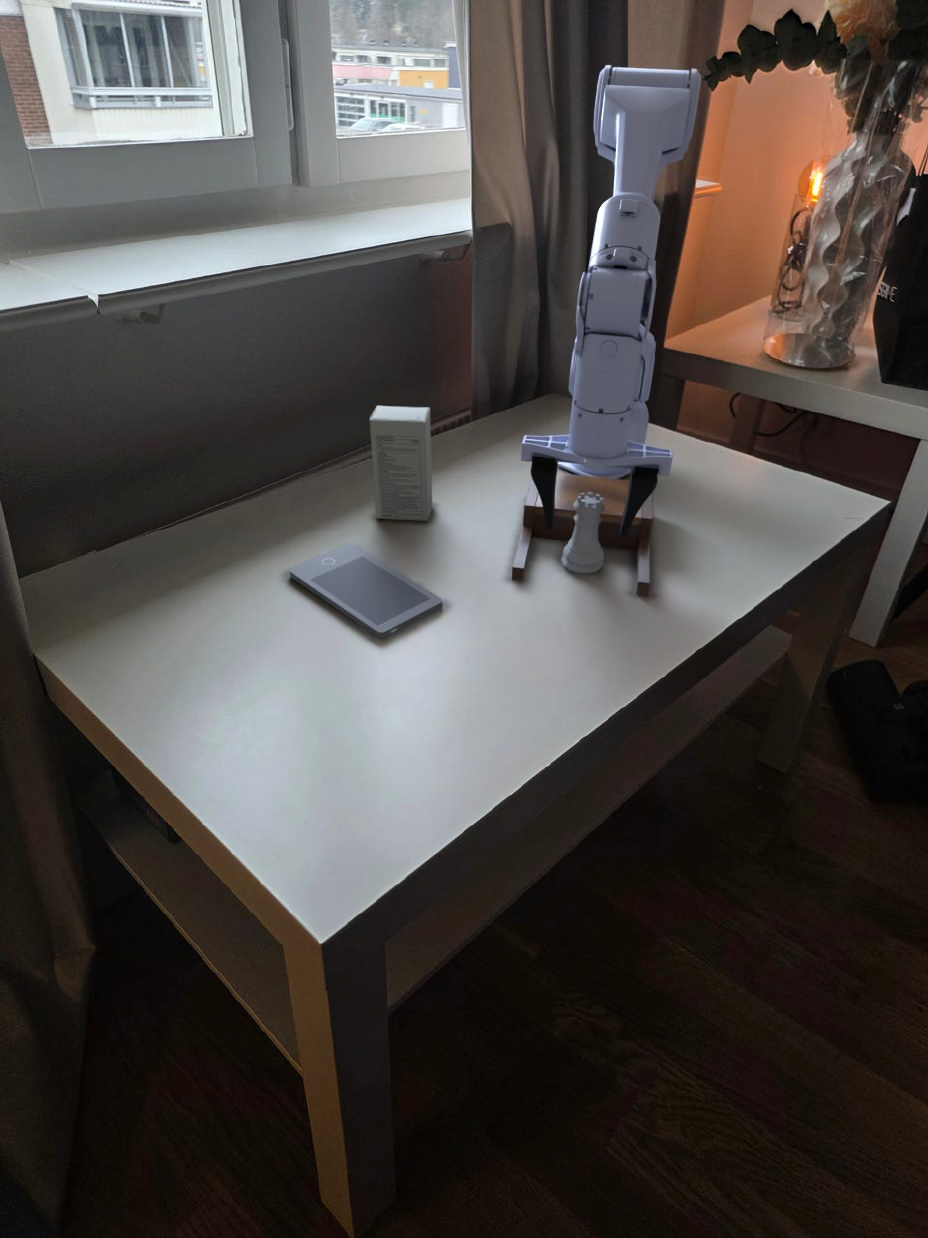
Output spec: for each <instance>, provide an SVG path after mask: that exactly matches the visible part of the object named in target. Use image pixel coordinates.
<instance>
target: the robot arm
mask: <svg viewBox="0 0 928 1238" xmlns="http://www.w3.org/2000/svg"><path fill="white" fill-rule="evenodd" d="M701 84H702V75H701V74H700V72H699V70H698V68H691V70H689V69H686V70H685V69H667V68H666V69H665V68H642V67H641V68H640V67H619V66H614V67H613V65H612V64H605V66H604V68H603V69H601V71H600V72H599V76H598V80H597V86H596V95H595V101H594V102H595V103H594V104H595V105H594V112H593V114H594V115H593V133H594V141H595V146H596V147H597V154H598V155H599V156H601V157H602V158H604V159H607V160H609V161H610V162H612V163H613V167H614V175H613V176H614V178H613V195H612V196H611V197H610V198H608V199H607V200H605V201H604V202H603V203H602V205H601V206H600V207H599V209H598V211H597V215H596V221H595V225H594V233H593V239H592V245H591V250H590V255H589V256H590V257H589V264H588V269H587V273H586V271H583V272H582V275H581V278H580V282H579V286H578V287H579V288H578V293H577V302H576V303H577V304H576V311H575V327H576V337H575V340H574V346H573V351H572V356H571V362H570V369H569V378H568V392H569V394H570V395H571V397H572V402H571V411H570V420H569V428H568V429H569V430H568V434H561V435H559V434H557V435H524V436H523V439H522V443H521V454H520V461H521V462H528V463H531V467H530V477H532V480H533V482H534V484H535V486H536V488H537V490H538V493H539V496H540V499H541V502H542V506H543V510H544V516H545V529H550V530H552V527H553V521H554V513H555V486H556V477H557V473H558V468H559V467H560V468H561V469H564V470H567V471H569V472H572V473H574V474H575V475H581V476H591V477H601V478H611V479H621V478H623V477H626V476H627V475H629V479H628V480H629V487H628V494H627V499H626V503H625V508H624V512H623V516H622V521H621V528H620V537H622V538H627V535H628V532H629V529H630V527H631V524H632V522H633V520H634V518H635V516H636V514H637V513H638V511H639V509H640V508H641V506H642V505H643V504H644V502H645V501H646V500H647V498H648V497H649V496H650V495H651V494H652V493H653V494H654V491H655V490H656V488H657V485H658V475H659V476H667V477H669V476H670V474H671V469H672V463H673V449H669V448H663V447H657V446H651V445H647V444H646V439H647V432H648V426H649V420H650V415H649V410H648V407H647V405H646V402H647V401H648V400H649V398H650V394H651V393H650V392H651V386H652V381H653V375H654V367H655V359H656V355H655V354H656V347H657V342H656V341H655V336H654V335H653V334H652V333H651V332H650V328H651V323H652V318H653V312H654V311H653V310H654V304H655V298H656V289H657V277H656V275H657V273H656V268H657V260H655V259H656V253H657V246H658V239H659V230H660V224H661V213H660V210H659V209H658V207H657V205H656V203H654V200H655V194H656V188H657V187H656V186H657V183H658V181H659V179H660V176H661V175H662V173H663V171H664V169H665V167H666V166H667V165H670V164H674V163H675V162H679V161H681V160H683V159H684V157H685V153H686V152H687V151H688V149H689V144H690V141H691V139H692V137H693V134H694V129H695V122H696V118H697V117H696V116H697V111H698V104H699V98H700V91H701ZM641 321H643V323H644V325H645V326H644V325H643V324H642V323H641Z"/></svg>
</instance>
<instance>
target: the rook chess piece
mask: <svg viewBox="0 0 928 1238" xmlns="http://www.w3.org/2000/svg"><path fill="white" fill-rule="evenodd" d="M592 493H593V492H588V495H587V496H585V493H581V494H580V496H578V500H577V501H576V502H575V503H574V504H573V507H574V508H575V510H576V511H577V515H576V516H575V517H574V520H575V521H576V522H575V528H574V532H573V535H572V538H571V539H570V541H569V542H567V544H566V545H565V546H564V547H563V549H562V556H561V563H562V564H563V565H564V567H565V569H566V570H568V571H570V572H571V573H574V574H578V575H592V574H594V573H596V572H598V571H599V570H600V569H601V568H602V567H603V565H604V560H603V559H604V550H603V549H602V546H601V545H600V543H599V541H598V526H599V524H600V522H601V518H600V517H599V516H600V514H601V513H602V512H603V511H604V510H605V505H604V504H603V502H602V501H603V498H600V496H601V495H599V494H596V495H595V497H592Z"/></svg>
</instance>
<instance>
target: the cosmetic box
mask: <svg viewBox="0 0 928 1238" xmlns="http://www.w3.org/2000/svg"><path fill="white" fill-rule="evenodd" d="M368 420H369V431H370V446H371V447H370V448H371V460H372V462H371V463H372V472H373V473H372V475H373V489H374V490H373V491H374V503H375V504H374V505H375V518H376V519H380V520H398V521H399V520H401V521H402V520H403V521H423V522H425V521H427V522H428V521H429V518H430V516H431V512H432V509H433V475H432V474H433V471H432V469H433V468H432V467H433V466H432V432H431V431H432V430H431V429H432V428H431V424H432V423H431V407H429V406H427V407H425V406H405V405H404V406H401V405H376V407H375V409H373V412H372V414H371V415H370V417H369V419H368Z"/></svg>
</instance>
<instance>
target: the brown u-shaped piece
mask: <svg viewBox="0 0 928 1238" xmlns="http://www.w3.org/2000/svg"><path fill="white" fill-rule="evenodd" d="M530 477H531V476H530ZM629 480H630V479H621V478H619V479H611V478H601V477H591V476H581V475H578V474H570V473H561V472H557V477H556V486H555V513H554V521H553V527H552V530H550V529H545V516H544V510H543V506H542V502H541V499H540V496H539V493H538V490H537V488H536V486H535V484H534V482H533V480H532V477H531V478H530V481H529V484H528V489H527V493H526V496H525V501H524V505H523V517H522V526H521V531H520V535H519V538H518V543H517V547H516V551H515V555H514V559H513V564H512V568H511V580H516V581H524V577H525V573H526V568H527V564H528V559H529V555H530V550H531V545H532V543H533V539H539V540H547V541H548V540H549V541H558V542H566V543H568V542H569V541H570V539H571V538H572V535H573V532H574V528H575V522H576V521H575V520H574V517H575V516H576V515H577V511H576V510H575V508H574V507H573V504H574V503H575V502H576V501H577V500H578V496H580V494H581V493H585V496H587V495H588V492H593V493H592V497H595V495H596V494H599V495H601V496H600V498H603V501H602V502H603V504H604V505H605V510H604V511H603V512H602V513H601V514H600V516H599V517H600V518H601V522H600V524H599V526H598V541H599V543H600V546H601V547H611V548H619V549H621V548H622V549H626V550H627V549H629V550H636V566H635V567H636V568H635V569H636V571H635V573H636V577H635V594H636V595H641V596H642V595H643V596H648V595H649V592H650V586H651V542H650V540H651V535H652V529H653V524H654V492H653V493H652V494H651V495H650V496H649V497H648V498H647V500H646V501H645V502H644V504H643V505H642V506H641V508H640V509H639V511H638V513H637V514H636V516H635V518H634V520H633V522H632V524H631V527H630V529H629V532H628V535H627V538H622V537H620V528H621V521H622V516H623V512H624V508H625V503H626V499H627V494H628V487H629Z"/></svg>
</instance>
